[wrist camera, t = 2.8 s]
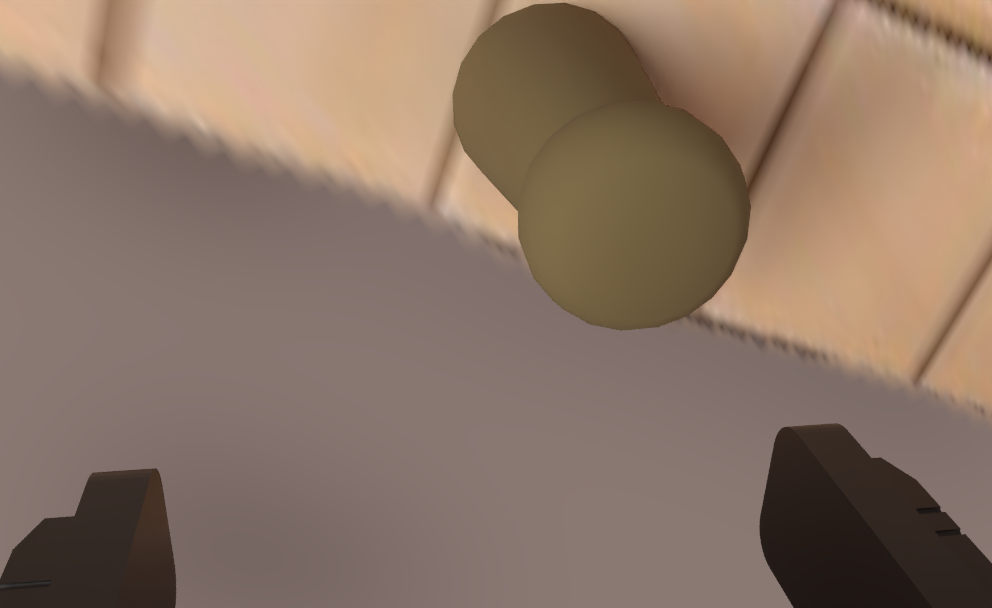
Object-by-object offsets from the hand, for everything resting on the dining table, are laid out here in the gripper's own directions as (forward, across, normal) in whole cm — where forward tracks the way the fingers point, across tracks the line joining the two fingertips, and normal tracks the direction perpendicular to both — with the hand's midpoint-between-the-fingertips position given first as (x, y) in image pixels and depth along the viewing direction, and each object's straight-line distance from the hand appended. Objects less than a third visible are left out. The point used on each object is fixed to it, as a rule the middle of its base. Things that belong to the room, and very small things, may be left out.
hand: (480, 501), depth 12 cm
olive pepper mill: (+19, -5, 0) cm, 20 cm away
